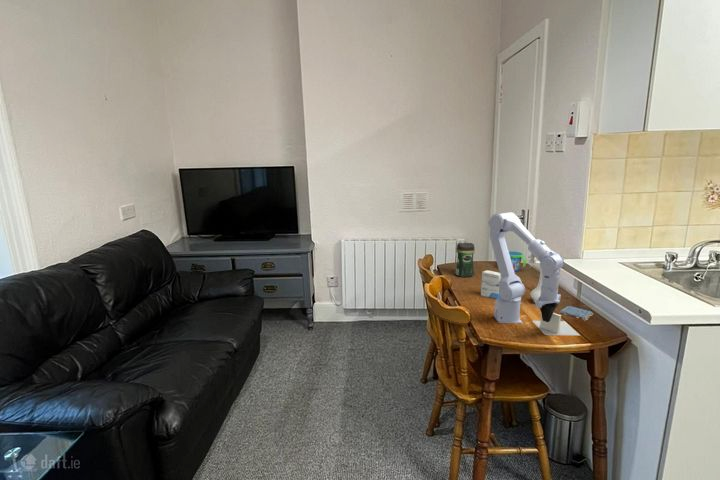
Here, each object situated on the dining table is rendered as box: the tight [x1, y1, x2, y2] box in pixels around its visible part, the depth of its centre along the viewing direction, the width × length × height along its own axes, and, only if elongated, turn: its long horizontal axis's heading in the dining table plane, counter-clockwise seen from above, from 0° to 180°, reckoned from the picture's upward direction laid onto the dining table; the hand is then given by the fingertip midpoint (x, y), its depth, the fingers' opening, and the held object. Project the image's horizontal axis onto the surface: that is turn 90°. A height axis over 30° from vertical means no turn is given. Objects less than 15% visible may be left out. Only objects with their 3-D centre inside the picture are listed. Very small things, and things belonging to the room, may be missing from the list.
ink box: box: [480, 270, 501, 300], centre depth 191 cm, size 8×5×12 cm, turn 47°
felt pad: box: [532, 320, 581, 337], centre depth 156 cm, size 13×13×1 cm
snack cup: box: [508, 250, 527, 272], centre depth 233 cm, size 16×10×10 cm
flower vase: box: [527, 250, 557, 303], centre depth 181 cm, size 13×18×25 cm
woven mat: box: [560, 305, 594, 322], centre depth 170 cm, size 10×11×2 cm
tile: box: [540, 312, 562, 333], centre depth 153 cm, size 1×7×7 cm, turn 37°
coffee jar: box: [455, 242, 476, 278], centre depth 222 cm, size 10×8×19 cm
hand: (546, 321), depth 151 cm, fingers closed
